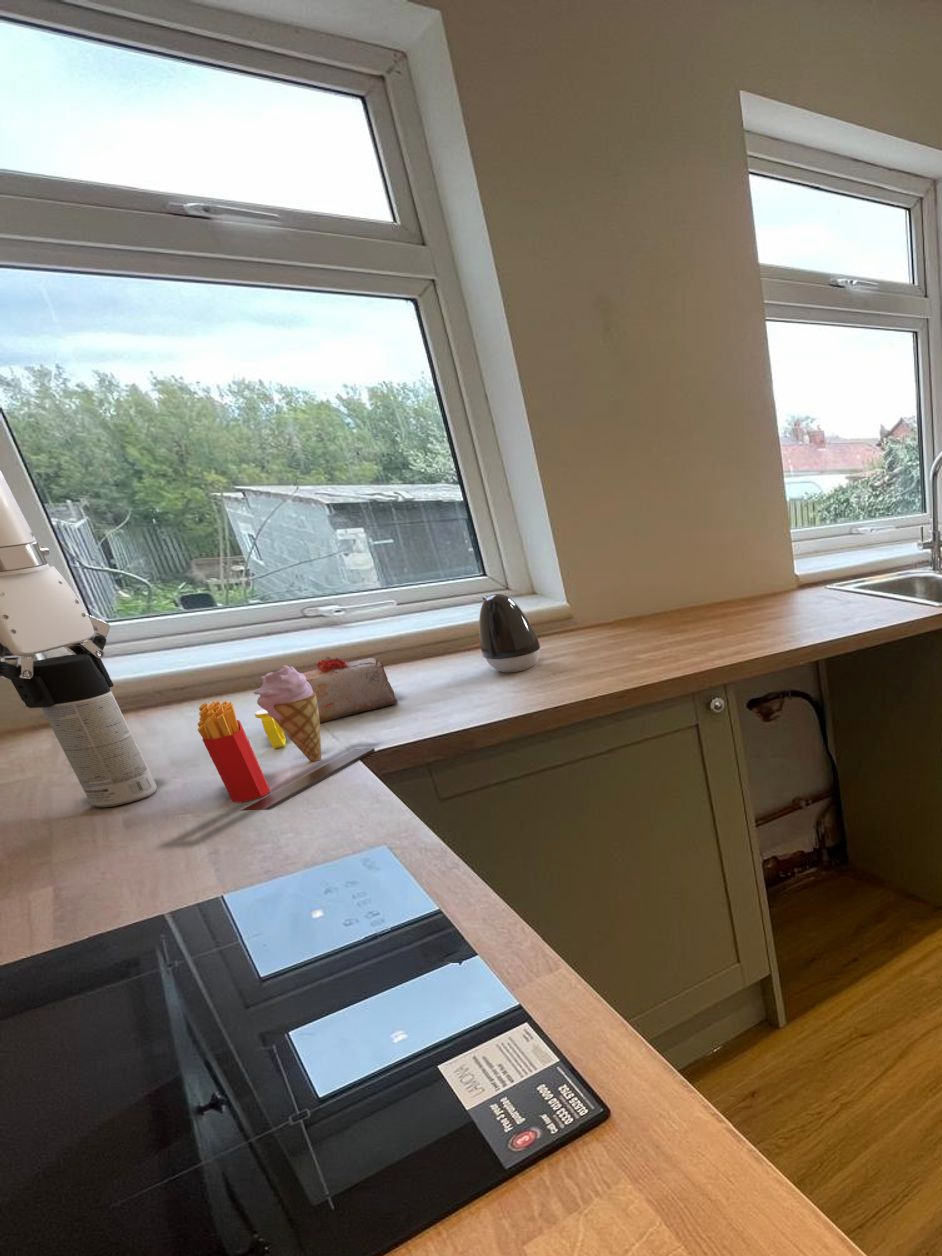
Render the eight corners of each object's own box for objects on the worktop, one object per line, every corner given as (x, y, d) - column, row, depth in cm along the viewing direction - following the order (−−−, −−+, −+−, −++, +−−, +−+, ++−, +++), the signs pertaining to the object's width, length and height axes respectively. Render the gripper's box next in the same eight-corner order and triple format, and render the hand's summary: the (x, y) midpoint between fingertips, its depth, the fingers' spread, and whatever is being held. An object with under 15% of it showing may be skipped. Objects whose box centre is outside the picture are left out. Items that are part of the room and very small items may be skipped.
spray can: (159, 783, 117) (94, 650, 110) (159, 796, 113) (91, 658, 105) (93, 799, 113) (21, 661, 106) (90, 813, 109) (15, 670, 101)
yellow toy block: (270, 742, 131) (255, 707, 129) (292, 737, 133) (277, 703, 130) (268, 753, 127) (252, 717, 124) (290, 748, 128) (275, 713, 126)
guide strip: (173, 850, 98) (171, 847, 98) (356, 751, 126) (355, 748, 125) (197, 849, 98) (195, 846, 98) (375, 751, 126) (374, 748, 125)
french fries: (228, 788, 115) (187, 702, 109) (267, 778, 117) (229, 694, 112) (232, 808, 108) (189, 718, 103) (273, 797, 111) (233, 708, 106)
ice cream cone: (315, 769, 120) (274, 672, 114) (274, 770, 120) (231, 674, 114) (349, 751, 126) (312, 658, 120) (310, 752, 126) (271, 660, 120)
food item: (307, 728, 136) (283, 672, 132) (297, 718, 141) (275, 664, 137) (401, 705, 146) (382, 652, 142) (389, 696, 151) (370, 645, 147)
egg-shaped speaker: (529, 658, 171) (509, 586, 165) (554, 665, 165) (534, 591, 159) (478, 671, 163) (455, 597, 157) (502, 679, 157) (479, 602, 151)
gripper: (47, 550, 108) (111, 677, 116) (-119, 576, 92) (-32, 722, 100) (101, 548, 108) (162, 675, 115) (-55, 574, 92) (27, 719, 99)
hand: (71, 695), depth 107 cm, fingers closed on spray can, 6 cm apart
